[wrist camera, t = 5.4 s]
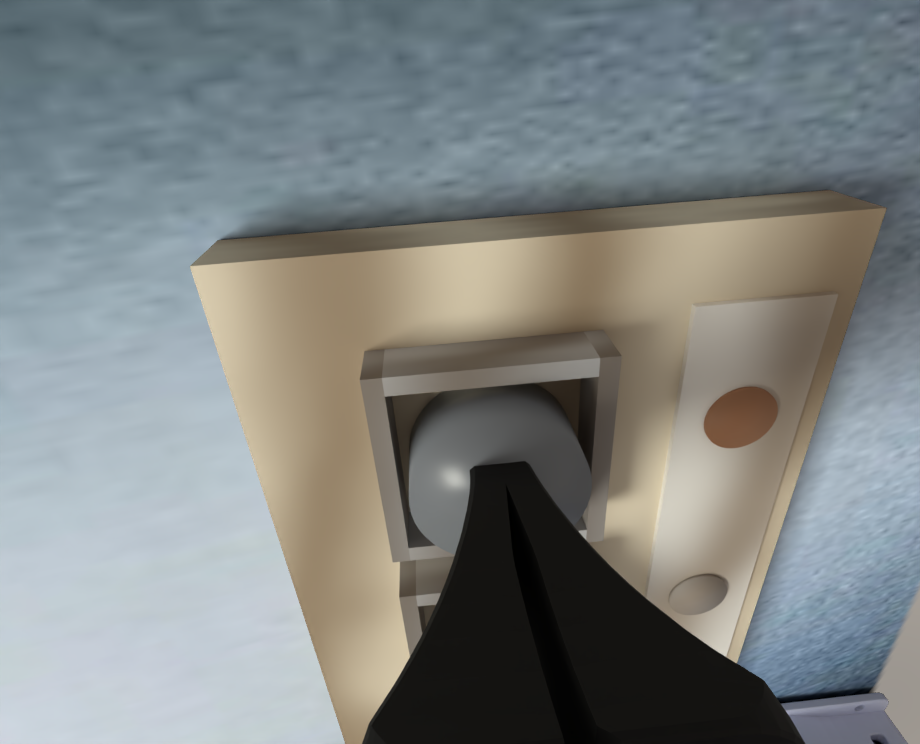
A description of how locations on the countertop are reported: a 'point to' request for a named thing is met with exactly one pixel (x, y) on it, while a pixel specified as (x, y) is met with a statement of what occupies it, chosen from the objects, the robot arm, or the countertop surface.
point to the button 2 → (490, 453)
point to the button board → (553, 368)
